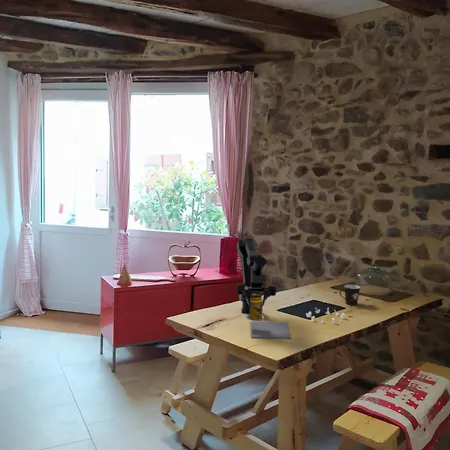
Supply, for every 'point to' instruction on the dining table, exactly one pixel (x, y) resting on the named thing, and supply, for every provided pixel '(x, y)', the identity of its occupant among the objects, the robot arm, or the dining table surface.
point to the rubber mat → (270, 330)
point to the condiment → (255, 308)
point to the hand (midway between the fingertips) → (256, 305)
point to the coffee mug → (351, 294)
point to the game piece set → (327, 313)
